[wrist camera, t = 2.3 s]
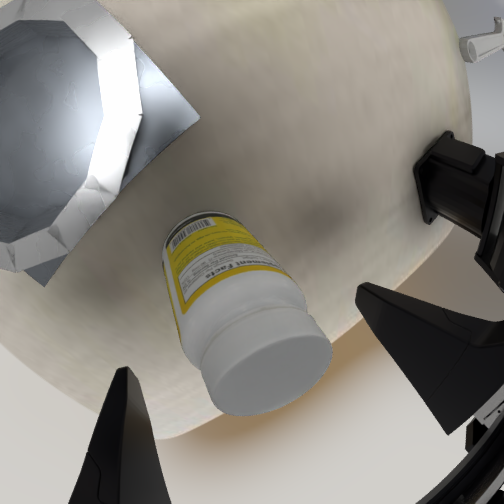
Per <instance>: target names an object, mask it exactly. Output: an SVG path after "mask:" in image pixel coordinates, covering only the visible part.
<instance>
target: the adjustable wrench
mask: <svg viewBox="0 0 504 504" xmlns="http://www.w3.org/2000/svg"><path fill="white" fill-rule="evenodd" d="M494 23H495V28H494V31H493V32H490V33H483V34H477V35H471V36H466V37H461V38H459V40H460V41H459V47H460V52H461V55H462V57H463V59H464V60H465V62H470V63H477V62H478V61H480V60H482V59H484V58H485V57H487V56H489V55H491V54H492V53H494V52H496V51H498V50H499V49H502V50H503V51H504V20H502V19H501V18H499V17H494Z"/></svg>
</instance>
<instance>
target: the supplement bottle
mask: <svg viewBox="0 0 504 504" xmlns="http://www.w3.org/2000/svg"><path fill="white" fill-rule="evenodd" d="M162 263H163V270H164V275H165V279H166V283H167V288H168V292H169V297H170V301H171V305H172V309H173V313H174V317H175V321H176V326H177V330H178V334H179V338H180V342H181V345H182V349H183V351H184V353H185V355H186V356H187V358H188V359H189V361H190V362H191V363H192V364H193V365H194V366H195V367H196V368H198V369H199V370H201V374H202V377H203V379H204V382H205V384H206V387H207V390H208V392H209V395H210V397H211V400H212V402H213V403H214V405H215V406H216V407H217V408H218V409H219V410H220V411H222V412H224V413H226V414H229V415H235V416H251V415H257V414H262V413H266V412H270V411H272V410H275V409H278V408H280V407H283V406H285V405H287V404H288V403H290V402H292V401H294V400H295V399H297V398H299V397H300V396H302V395H303V394H304V393H306V392H307V391H308V390H309V389H310V388H312V387H313V386H314V385H315V384H316V383H317V382H318V380H319V379H320V378H321V377H322V376H323V374H324V373H325V372H326V370H327V368H328V366H329V364H330V362H331V359H332V353H333V352H332V346H331V343H330V341H329V340H328V338H327V337H326V336H325V334H324V333H323V332H322V330H321V329H320V327H319V326H318V325H317V323H316V321H315V320H314V319H313V317H312V316H311V315H309V314H308V313H307V304H306V300H305V297H304V295H303V293H302V291H301V290H300V288H299V287H298V285H297V284H296V283H295V282H294V281H293V280H292V278H291V277H290V276H289V275H288V274H287V273H286V272H285V271H284V270H283V268H282V267H281V266H280V265H279V264H278V263H277V262H276V261H275V260H274V259H273V258H272V256H271V255H270V254H269V253H268V252H267V251H266V250H265V249H264V248H263V247H262V245H261V244H260V243H259V242H258V241H257V240H256V239H255V238H254V237H253V236H252V235H251V234H250V233H249V231H248V230H247V229H246V228H245V227H244V226H243V225H242V224H241V223H240V222H239V221H238V220H236V219H235V218H233V217H232V216H230V215H227V214H225V213H221V212H201V213H197V214H194V215H191V216H189V217H187V218H185V219H184V220H182V221H181V222H180V223H178V224H177V225H176V226H175V227H174V228H173V229H172V231H171V232H170V233H169V235H168V237H167V239H166V241H165V243H164V247H163V252H162Z"/></svg>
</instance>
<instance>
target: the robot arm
mask: <svg viewBox="0 0 504 504" xmlns="http://www.w3.org/2000/svg"><path fill="white" fill-rule="evenodd" d="M414 173H415V177H416V181H417V185H418V190H419V195H420V200H421V205H422V210H423V216H424V222H425V223H426V224H428V225H430V224H431V223H432V222H433V221H434V220H435V218H436V217H437V216H438V215H440V216H442V217H444V218H445V219H447V220H449V221H451V222H453V223H454V224H456V225H458V226H460V227H461V228H463V229H465V230H467V231H468V232H470V233H472V234H473V235H475V236H477V237H478V238H480V239H481V240H480V243H479V247H478V250H477V252H476V253H475V256H474V259H475V261H476V262H477V263H478V264H479V265H480V266H481V267H482V268H483V269H484V271H485V272H486V273H487V274H488V275H489V276H490V277H491V279H492V280H493V281H494V282H495V283H496V285H497V286H498V287H499V288H500V289H501V291H502V292H503V293H504V152H501V153H497V154H495V158H494V157H491V156H489V155H486V154H485V151H484V150H483V149H481V148H479V147H476V146H473V145H470V144H467V143H464V142H461V141H458V140H455V139H454V134H453V132H452V131H447V132H446V133H445V134H444V135H443V136H442V137H441V138H440V139H439V140H438V142H437V143H436V144H435V145H434V146H433V147H432V148H431V149H430V150H429V151H428V153H427V154H426V155H425V156H424V157H423V158H422V159H421V160H420V161H419V162H418V163H417V164H416V166H415V169H414ZM355 303H356V306H357V308H358V309H359V311H360V312H361V314H362V315H363V317H364V318H365V320H366V322H367V324H368V325H369V327H370V328H371V330H372V331H373V333H374V334H375V336H376V337H377V338H378V340H379V341H380V342H381V344H382V345H383V346H384V347H385V349H386V350H387V351H388V353H389V354H390V355H391V357H392V358H393V359H394V361H395V362H396V363H397V365H398V366H399V367H400V369H401V370H402V371H403V373H404V374H405V375H406V377H407V378H408V380H409V381H410V382H411V384H412V385H413V387H414V388H415V389H416V391H417V392H418V394H419V395H420V396H421V398H422V399H423V400H424V402H425V403H426V405H427V407H428V408H429V409H430V411H431V412H432V414H433V415H434V416H435V418H436V419H437V421H438V422H439V424H440V425H441V427H442V428H443V430H444V431H445V433H446V434H447V435H449V434H451V433H452V432H453V431H454V430H456V429H457V428H458V427H459V426H461V425H462V424H463V423H464V422H465V421H467V420H468V419H469V418H470V417H471V416H472V415H474V416H475V417H474V418H473V420H472V421H471V422H470V423H469V424H468V425H467V427H466V445H465V449H466V451H467V452H468V454H467V456H466V457H465V458H464V459H463V460H462V461H461V462H460V463H459V464H458V465H457V466H456V467H455V468H454V469H453V470H452V471H451V472H450V473H449V474H448V475H447V477H445V478H444V479H443V480H442V481H441V482H440V483H439V484H438V485H437V486H436V487H435V488H434V489H433V490H431V491H430V492H429V493H428V494H427V495H426V496H424V497H423V498H422V499H421V500H420V501H418V502H417V503H416V504H504V491H502V490H499V489H500V488H501V487H502V485H503V484H504V320H503V321H499V322H498V321H497V322H492V321H487V320H483V319H479V318H475V317H472V316H468V315H464V314H461V313H457V312H454V311H451V310H448V309H445V308H442V307H439V306H436V305H433V304H431V303H428V302H425V301H421V300H419V299H416V298H413V297H410V296H407V295H404V294H402V293H399V292H395V291H393V290H390V289H387V288H384V287H381V286H378V285H375V284H372V283H369V282H365V283H362V284H360V285H359V286H358V287H357V292H356V298H355ZM68 504H171V501H170V498H169V494H168V491H167V488H166V484H165V481H164V477H163V473H162V470H161V466H160V462H159V458H158V454H157V449H156V446H155V440H154V436H153V431H152V426H151V421H150V418H149V414H148V411H147V408H146V404H145V401H144V397H143V394H142V390H141V386H140V383H139V380H138V379H137V377H136V376H135V375H134V373H133V372H132V370H131V369H130V368H129V367H128V366H125V367H121V368H118V369H117V370H116V373H115V375H114V378H113V380H112V383H111V385H110V388H109V390H108V393H107V395H106V398H105V401H104V403H103V406H102V409H101V412H100V414H99V417H98V420H97V423H96V426H95V429H94V432H93V435H92V438H91V441H90V444H89V447H88V452H87V453H86V456H85V460H84V463H83V466H82V469H81V472H80V475H79V477H78V480H77V482H76V485H75V487H74V490H73V492H72V495H71V498H70V500H69V503H68Z"/></svg>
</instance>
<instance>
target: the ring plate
mask: <svg viewBox="0 0 504 504" xmlns="http://www.w3.org/2000/svg"><path fill="white" fill-rule="evenodd" d="M200 118H201V117H200V116H199V115H198V113H197V112H196V111H195V110H194V109H193V108H192V106H191V105H190V104H189V103H188V102H187V100H186V99H185V98H184V97H183V96H182V95H181V93H180V92H179V91H178V90H177V89H176V88H175V87H174V85H173V84H172V83H171V82H170V81H169V80H168V79H167V77H166V76H165V75H164V74H163V73H162V72H161V71H160V70H159V68H158V67H157V66H156V65H155V64H154V63H153V62H152V61H151V60H150V58H149V57H148V56H147V55H146V54H145V53H144V52H143V51H142V50H141V49H140V48H139V46H138V45H137V44H136V43H135V42H134V41H133V38H132V36H131V35H130V34H129V33H128V32H127V30H126V29H125V28H124V27H123V26H122V25H121V24H120V23H119V22H118V21H117V20H116V19H115V18H114V17H113V16H112V15H111V14H110V13H109V12H108V11H107V10H106V9H105V8H104V7H103V6H102V5H101V4H100V3H99V2H98V1H97V0H13V1H11V2H10V3H8V4H6V5H5V6H3V7H1V8H0V269H4V270H8V271H12V272H15V273H16V271H17V272H20V271H22V270H24V271H25V272H26V273H27V274H28V275H30V276H31V277H32V278H33V279H35V280H36V281H37V282H38V283H40V284H41V285H42V286H43V287H45V286H46V284H47V283H48V281H49V280H50V278H51V277H52V275H53V274H54V272H55V271H56V270H57V268H58V267H59V265H60V264H61V263H62V261H63V260H64V259H65V257H66V256H67V255H68V253H69V252H71V251H72V250H73V248H74V247H75V246H76V244H77V243H78V242H79V241H80V239H81V238H82V237H83V236H84V234H85V233H86V232H87V231H88V230H89V228H90V227H91V226H92V225H93V224H94V222H95V221H96V220H97V219H98V218H99V217H100V215H101V214H102V213H103V212H104V211H105V210H106V209H107V207H108V206H109V205H110V204H111V203H112V202H113V201H114V200H115V199H116V197H117V196H118V194H119V193H120V192H121V191H122V190H123V188H124V187H125V186H126V185H127V184H128V183H129V182H130V181H131V180H132V179H133V178H134V177H135V176H136V175H137V174H138V173H139V172H140V171H141V170H142V169H143V168H144V167H145V166H146V165H147V164H148V163H150V162H151V161H152V160H153V159H154V158H155V157H156V156H157V155H158V154H159V153H160V152H161V151H162V150H163V149H165V148H166V147H167V146H168V145H169V144H170V143H171V142H172V141H174V140H175V139H176V138H177V137H178V136H179V135H181V134H182V133H183V132H184V131H185V130H186V129H188V128H189V127H190V126H191V125H192V124H194V123H195V122H196V121H197V120H199V119H200Z"/></svg>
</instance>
